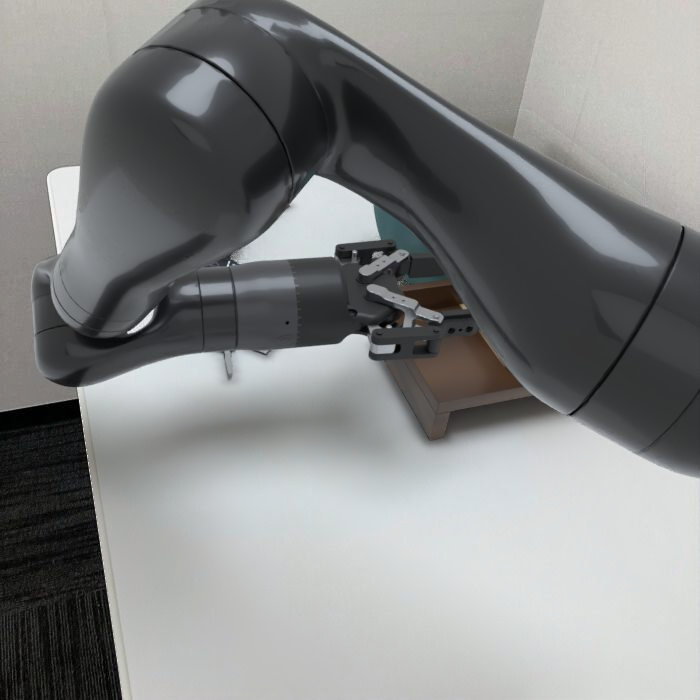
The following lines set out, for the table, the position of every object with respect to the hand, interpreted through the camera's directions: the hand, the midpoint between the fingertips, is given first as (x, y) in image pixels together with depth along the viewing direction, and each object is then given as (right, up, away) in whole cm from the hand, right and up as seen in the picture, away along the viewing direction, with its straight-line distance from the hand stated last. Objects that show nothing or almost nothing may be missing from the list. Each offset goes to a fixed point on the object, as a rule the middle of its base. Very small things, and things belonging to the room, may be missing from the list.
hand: (462, 290), depth 69 cm
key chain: (-21, -3, +14) cm, 26 cm away
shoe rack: (+5, -8, +12) cm, 16 cm away
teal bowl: (0, +4, +25) cm, 26 cm away
